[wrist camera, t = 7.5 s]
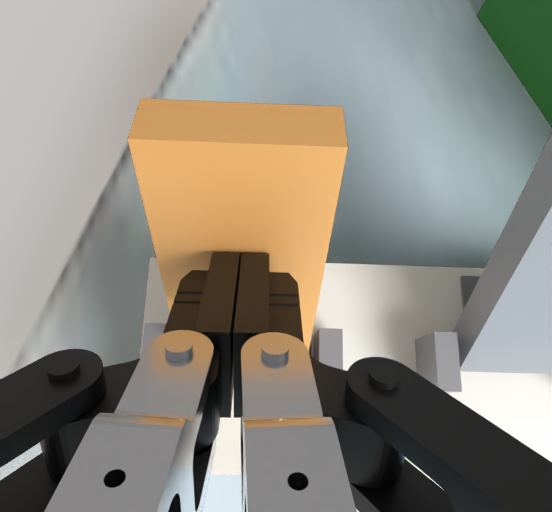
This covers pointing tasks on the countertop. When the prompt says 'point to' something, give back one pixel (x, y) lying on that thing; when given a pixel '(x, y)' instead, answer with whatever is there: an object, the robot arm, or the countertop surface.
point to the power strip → (395, 344)
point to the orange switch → (240, 186)
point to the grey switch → (515, 289)
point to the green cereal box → (524, 43)
